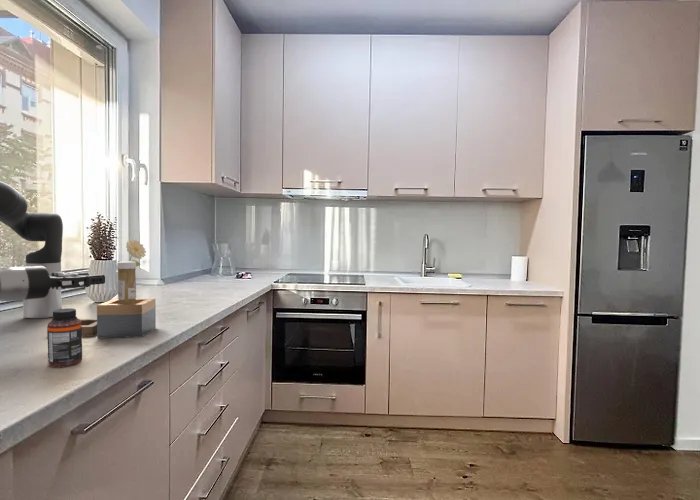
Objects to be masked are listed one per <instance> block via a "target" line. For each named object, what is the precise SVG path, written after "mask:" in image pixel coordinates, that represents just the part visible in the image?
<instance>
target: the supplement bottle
mask: <svg viewBox="0 0 700 500" xmlns="http://www.w3.org/2000/svg"><path fill="white" fill-rule="evenodd" d="M80 319H81V318H78V316H77V309H75V308H71V307H70V308H69V307H68V308H62V309H57V310H54V311H53V317H52V319H51V321H49V322H48V323H47V327H46V334H47V333H48V337H47V361H48V366H49V367H52V368H68V367H72V366H75V365H78V364H80V363H81V362H82V361H83V336H82V323H81V320H80ZM47 329H48V330H47Z"/></svg>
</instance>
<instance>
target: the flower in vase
mask: <svg viewBox="0 0 700 500" xmlns="http://www.w3.org/2000/svg"><path fill="white" fill-rule="evenodd" d="M125 245H126V247H125V248H126V251H127V252H128V254H129V255H130V257H129V260H128V261H134V262H136V268H137V267H139V266H141V262H139V261H138V260H136V259H139V260H142V259H143V258H145V256H146V252H147V251H146V248H145V247H144V245H143V244H141V243H140V241H138V239H133V238H130V239H129V240H128V241H126V244H125ZM132 258H135V259H132ZM131 259H132V260H131ZM117 262H121V261H119V260H118V261H117ZM115 272H116V273H117V274H118V270H115ZM113 299H118V293H117V294H116V295H115V296H113V297H112V298H111V299H110V300H113ZM136 299H138V298H137V297H136Z"/></svg>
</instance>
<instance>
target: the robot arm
mask: <svg viewBox="0 0 700 500" xmlns="http://www.w3.org/2000/svg"><path fill="white" fill-rule="evenodd" d="M0 222H1V223H2V224H4V225H5V226H7V227H9V228H10V229H11V230H12V231H13V232H15V233H16V234H17V235H18V236H19V237H20V238H22V239H23V240H25V241H28V242H44V246H43V247H41V248H40V249H38V250H36V251H33V252H29V253H27V254H26V255H25V266H9V267H8V266H7V267H2V268H1V267H0V302H15V301H16V302H17V301H22V307H23V308H22V310H23V312H22V313H23V315H22V317H23V318H26V319H27V318H29V319H47V318H53V311H54V310H57V309H63V308H62V305H63V304H62V302H63V299H62V290H67V289H77V288H90V287H91V286H92V285H103V284H105V283H106V275H105V274H96V275H95V274H94V275H92V274H91V275H90V273H88V272H78V273H70V272H67V271H62V254H63V253H62V252H63V236H64V235H63V232H64V231H63V229H64V227H63V226H64V224H63V220H62V217H61V215H60V214H58V213H55V212H32V211H30V212H29V211H28V201H27V199H26V198H25V196H24V195H23V194H22V193H21V192H19V191H18V190H17V189H16V188H14V187H13V186H11V185H10V184H8V183H6V182H4V181H1V180H0ZM81 282H82V283H81Z"/></svg>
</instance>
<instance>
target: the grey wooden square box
mask: <svg viewBox="0 0 700 500" xmlns="http://www.w3.org/2000/svg"><path fill="white" fill-rule="evenodd" d="M156 316H157V314H156V298H155V297H153V298H137V299H136V304H119V300H118V299H113V300H111V299H110V300H108V301H105V302H102V303H99V304H96V319H97V334H96V335H97V336H96V338H97V339H103V338H104V339H105V338H106V339H109V338H110V339H112V338H115V339H116V338H143V337H144V336H146V335H147V334H149V333H150V332H152V331H153V330H156V328H157V327H156V326H157V325H156V323H157V322H156V321H157V320H156Z"/></svg>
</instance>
